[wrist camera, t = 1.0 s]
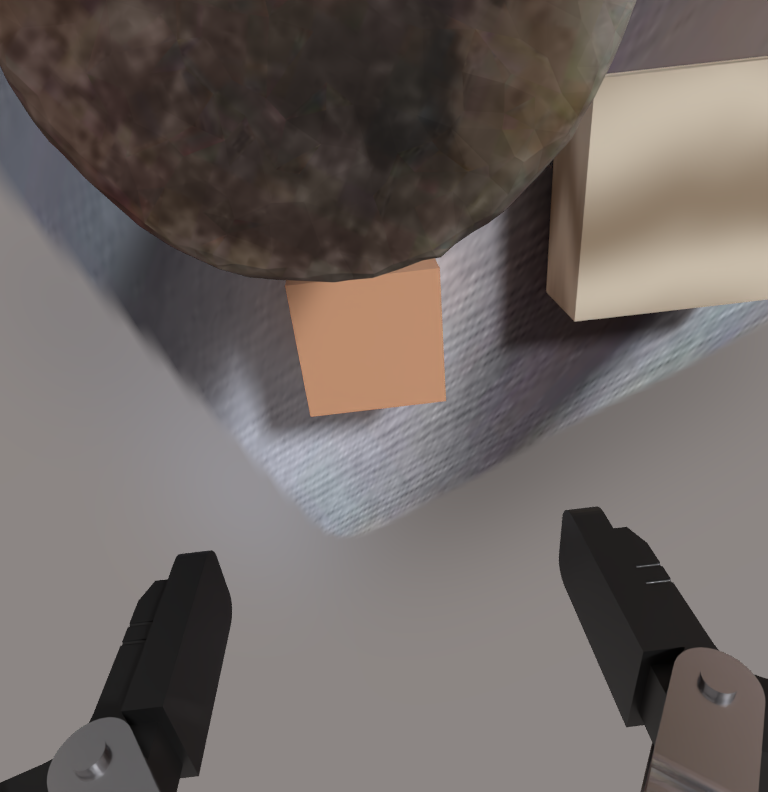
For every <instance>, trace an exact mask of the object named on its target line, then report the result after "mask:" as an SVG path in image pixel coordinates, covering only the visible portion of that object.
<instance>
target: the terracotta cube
mask: <svg viewBox="0 0 768 792" xmlns="http://www.w3.org/2000/svg"><path fill="white" fill-rule="evenodd" d="M285 289H286V294H287V299H288V304H289V309H290V314H291V319H292V325H293V330H294V335H295V340H296V345H297V350H298V355H299V360H300V365H301V370H302V376H303V381H304V386H305V391H306V396H307V401H308V406H309V411H310V416H311V417H314V416H323V415H331V414H340V413H348V412H357V411H365V410H374V409H382V408H391V407H399V406H408V405H416V404H425V403H433V402H441V401H446V393H445V372H444V350H443V329H442V308H441V287H440V268H439V266H438V264H437V262H436V260H435V258H433V259H428V260H423V261H420V262H417V263H415V264H412V265H409V266H407V267H404V268H401V269H399V270H396V271H392V272H389V273H386V274H383V275H380V276H377V277H374V278H367V279H356V280H347V281H340V282H315V281H294V280H286V284H285Z"/></svg>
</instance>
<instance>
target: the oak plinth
mask: <svg viewBox="0 0 768 792" xmlns="http://www.w3.org/2000/svg"><path fill="white" fill-rule="evenodd" d="M546 292H547V293H548V294H549V296H550V297H551V298H552V299H553V300H554V301H555V302H556V303H557V304H558V305H559V306H560V307H561V308H562V309H563V310H564V311H565V312H566V313H567V314H568V315H569V316H570V317H571V318H572V319H573V320H574V322H576V321H584V320H593V319H602V318H611V317H619V316H628V315H637V314H645V313H654V312H663V311H672V310H680V309H689V308H698V307H706V306H715V305H724V304H733V303H741V302H750V301H759V300H767V299H768V56H761V57H753V58H744V59H735V60H726V61H717V62H708V63H699V64H690V65H681V66H672V67H663V68H654V69H646V70H637V71H628V72H619V73H610V74H606V75H605V77H604V79H603V81H602V83H601V85H600V87H599V90H598V92H597V94H596V96H595V98H594V99H593V101H592V103H591V104H590V106H589V107H588V109H587V111H586V112H585V114H584V115H583V117H582V119H581V121H580V123H579V125H578V127H577V129H576V131H575V133H574V135H573V137H572V139H571V140H570V141H569V142H568V143H567V145H566V146H565V147H564V148H563V149H562V150H561V151H560V152H559V153H558V155H557V156H556V157H555V158H554V161H553V179H552V197H551V215H550V233H549V250H548V268H547V286H546Z"/></svg>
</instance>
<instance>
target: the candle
mask: <svg viewBox="0 0 768 792" xmlns="http://www.w3.org/2000/svg"><path fill="white" fill-rule="evenodd" d="M635 3H636V0H0V66H1V69H2V71H3V73H4V75H5V77H6V79H7V81H8V83H9V85H10V86H11V88H12V89H13V91H14V92H15V94H16V96H17V97H18V99H19V100H20V102H21V103H22V105H23V106H24V108H25V109H26V111H27V112H28V114H29V116H30V117H31V119H32V120H33V122H34V123H35V124H36V125H37V127H38V128H39V129H40V130H41V132H42V133H43V134H44V136H45V137H46V138H47V139H48V141H49V142H50V143H51V144H52V145H54V146H55V147H56V148H57V149H58V150H59V151H60V152H61V153H62V154H63V155H64V156H65V157H66V158H67V159H68V160H69V161H70V163H71V164H72V165H73V166H74V167H75V168H76V169H77V170H78V171H79V172H80V173H81V174H82V175H83V176H84V177H85V178H86V179H87V180H88V181H89V182H90V183H91V184H92V185H93V186H95V187H96V188H97V189H98V190H99V191H100V192H101V193H102V194H104V195H105V196H106V197H107V198H108V199H109V200H110V201H111V202H113V203H114V204H115V205H116V206H117V207H118V208H119V209H121V210H122V211H123V212H124V213H125V214H126V215H127V216H129V217H130V218H131V219H132V220H133V221H134V222H135V223H137V224H138V225H139V226H140V227H142V228H143V229H145V230H146V231H148V232H149V233H151V234H153V235H154V236H156V237H157V238H159V239H160V240H162V241H163V242H165V243H166V244H168V245H170V246H171V247H173V248H175V249H177V250H179V251H181V252H183V253H185V254H187V255H190V256H192V257H194V258H196V259H198V260H201V261H203V262H205V263H207V264H209V265H212V266H214V267H216V268H218V269H221V270H225V271H228V272H232V273H236V274H239V275H243V276H246V277H253V278H265V279H276V280H294V281H315V282H340V281H347V280H356V279H367V278H374V277H377V276H380V275H383V274H386V273H389V272H392V271H396V270H399V269H401V268H404V267H407V266H409V265H412V264H415V263H417V262H420V261H423V260H428V259H433V258H439V257H441V256H443V255H444V254H445V253H446V252H447V251H448V250H449V249H450V248H451V247H452V246H454V245H455V244H456V243H458V242H459V241H460V240H462V239H463V238H465V237H466V236H468V235H469V234H471V233H472V232H474V231H475V230H477V229H479V228H481V227H482V226H484V225H486V224H488V223H489V222H490V221H492V220H493V219H494V218H496V217H497V216H498V215H500V214H501V213H502V212H504V211H505V210H506V209H507V208H508V207H509V206H510V205H511V204H512V203H513V202H514V201H515V200H516V199H517V198H518V197H519V196H520V195H521V194H522V193H523V192H524V190H525V189H526V188H527V187H528V186H529V185H530V184H531V183H532V182H533V181H534V180H535V179H536V178H537V177H538V176H539V175H540V174H541V173H542V171H543V170H544V169H545V168H546V167H547V166H548V165H549V164H550V162H551V161H552V160H553V159H554V158H555V157H556V156H557V155H558V153H559V152H560V151H561V150H562V149H563V148H564V147H565V146H566V145H567V143H568V142H569V141H570V140H571V139H572V137H573V135H574V133H575V131H576V129H577V127H578V125H579V123H580V121H581V119H582V117H583V115H584V114H585V112H586V111H587V109H588V107H589V106H590V104H591V103H592V101H593V99H594V98H595V96H596V94H597V92H598V90H599V87H600V85H601V83H602V81H603V79H604V77H605V75H606V73H607V71H608V69H609V67H610V65H611V63H612V61H613V59H614V56H615V54H616V52H617V49H618V47H619V45H620V42H621V40H622V37H623V35H624V32H625V29H626V27H627V24H628V21H629V19H630V16H631V13H632V11H633V8H634V6H635Z"/></svg>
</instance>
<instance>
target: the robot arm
mask: <svg viewBox="0 0 768 792" xmlns="http://www.w3.org/2000/svg"><path fill="white" fill-rule="evenodd" d="M559 566H560V572H561V577H562V580H563V583H564V586H565V588H566V590H567V593H568V595H569V597H570V600H571V602H572V604H573V606H574V609H575V611H576V613H577V616H578V618H579V620H580V622H581V625H582V627H583V629H584V632H585V634H586V636H587V638H588V640H589V643H590V645H591V648H592V650H593V652H594V654H595V657H596V659H597V661H598V664H599V666H600V668H601V670H602V673H603V675H604V677H605V680H606V682H607V684H608V686H609V689H610V691H611V693H612V695H613V698H614V700H615V702H616V705H617V707H618V709H619V711H620V714H621V716H622V718H623V720H624V723H625V725H626V727H631V726H639V725H645V727H646V729H647V731H648V734H649V736H650V738H651V740H652V745H651V750H650V754H649V758H648V762H647V766H646V771H645V775H644V779H643V784H642V788H641V792H768V679H766V678H762V677H759V676H757V675H754V674H753V673H752V672H751V671H750V670H749V669H748V668H747V667H746V666H745V665H744V664H743V663H741V662H740V661H739V660H737V659H735V658H734V657H732V656H730V655H728V654H726V653H724V652H721V651H719V650H718V649H717V648H716V646H715V645H714V644H713V642H712V641H711V639H710V638H709V636H708V635H707V633H706V632H705V630H704V629H703V627H702V626H701V624H700V623H699V621H698V619H697V618H696V616H695V615H694V614H693V612H692V610H691V609H690V607H689V606H688V604H687V603H686V601H685V600H684V598H683V597H682V595H681V594H680V592H679V591H678V589H677V588H676V586H675V585H674V584H673V583H672V582H671V580H670V577H669V576H668V574H667V573H666V571H665V569H664V568H663V567H662V566H660V562H659V560H658V559H657V557H656V556H655V554H654V553H653V551H652V550H651V548H650V547H649V545H648V544H647V542H645V541H644V540H643V539H641V538H640V537H639V536H637V535H636V534H635V533H634V532H632V531H631V530H630V529H629V528H627V527H622V528H614V529H613V527H612V525H611V524H610V522H609V520H608V519H607V517H606V515H605V514H604V512H603V511H602V509H601V508H599V507H589V508H581V509H572V510H565V511H564V513H563V517H562V529H561V540H560V550H559ZM231 619H232V603H231V597H230V593H229V590H228V587H227V585H226V582H225V579H224V576H223V574H222V570H221V568H220V565H219V562H218V559H217V556H216V554H215V552H213V551H202V552H194V553H185V554H179V555H178V556H177V557H176V559H175V562H174V564H173V567H172V570H171V572H170V575H169V578H168V579H167V580H159V581H155V582H154V583H153V584H152V585H151V587H150V588H149V589H148V590H147V591H146V593H145V594H144V595H143V596H142V597H141V599H140V600H139V601H138V603H137V606H136V608H135V611H134V613H133V616H132V619H131V621H130V627H128V629H127V631H126V634H125V636H124V639H123V641H122V642H123V645H122V646H120V649H119V651H118V654H117V656H116V659H115V661H114V664H113V666H112V669H111V671H110V674H109V676H108V678H107V681H106V684H105V686H104V689H103V691H102V694H101V696H100V699H99V701H98V704H97V706H96V709H95V711H94V714H93V716H92V718H91V720H90V722H89V723H88V724H86V725H85V726H83V727H81V728H80V729H79V730H77V731H76V732H75V733H73V734H72V735H71V736H70V737H69V738H68V739H67V740H66V741H65V742H64V743H63V745H62V746H61V747H60V748H59V750H58V751H57V753H56V754H55V756H54V758H53V759H52V760H50V761H48V762H46V763H44V764H42V765H40V766H38V767H35V768H33V769H31V770H28V771H26V772H24V773H21V774H19V775H17V776H15V777H12V778H10V779H8V780H5V781H3V782H1V783H0V792H177V788H178V784H179V779H180V778H186V777H194V776H199V772H200V767H201V762H202V758H203V753H204V749H205V743H206V739H207V734H208V730H209V725H210V719H211V715H212V710H213V706H214V701H215V697H216V692H217V687H218V682H219V678H220V673H221V668H222V663H223V659H224V654H225V649H226V644H227V640H228V635H229V630H230V625H231Z"/></svg>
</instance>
